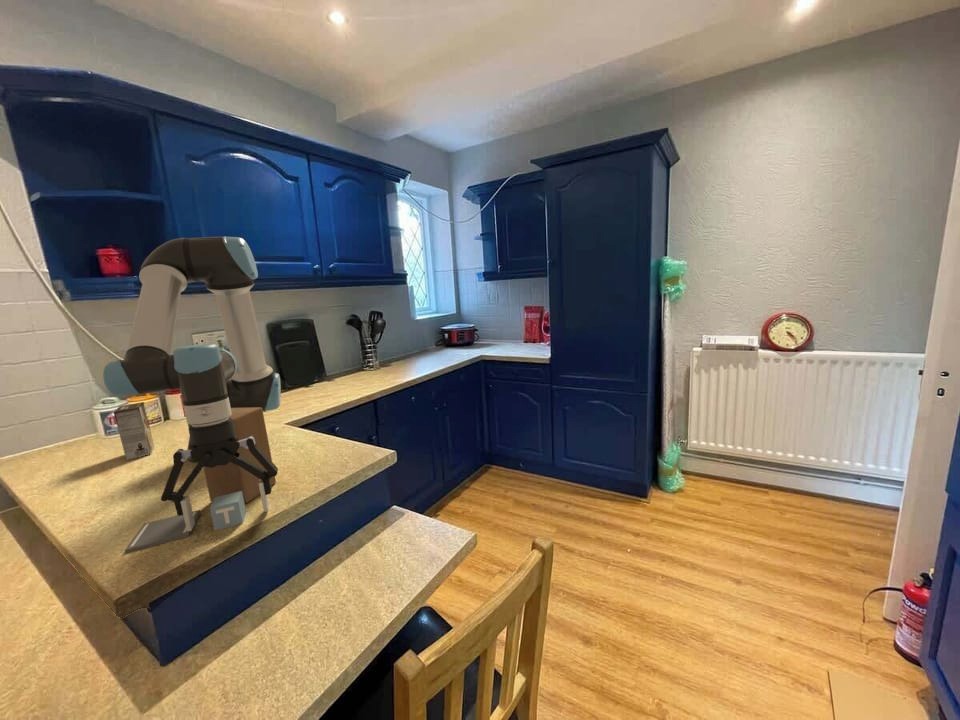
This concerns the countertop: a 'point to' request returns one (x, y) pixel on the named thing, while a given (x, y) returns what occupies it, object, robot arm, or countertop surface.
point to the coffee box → (134, 430)
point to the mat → (160, 532)
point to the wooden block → (234, 476)
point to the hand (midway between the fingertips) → (230, 518)
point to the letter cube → (228, 510)
